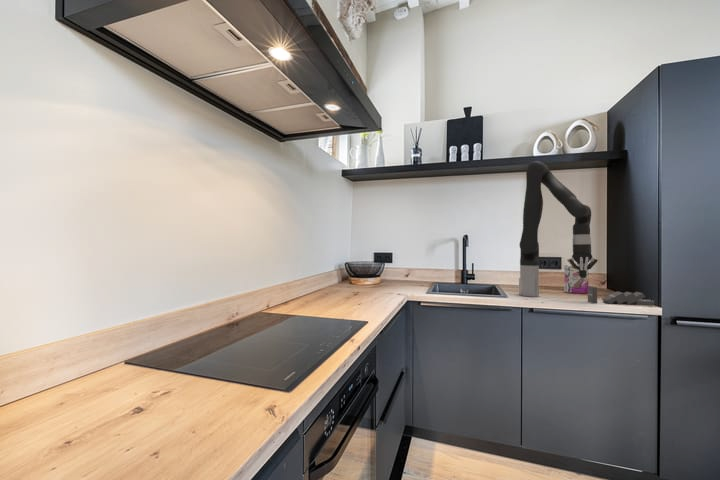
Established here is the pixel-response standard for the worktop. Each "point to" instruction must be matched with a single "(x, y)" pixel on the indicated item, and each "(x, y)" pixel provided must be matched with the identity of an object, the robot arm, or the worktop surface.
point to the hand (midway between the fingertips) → (582, 277)
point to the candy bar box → (574, 281)
